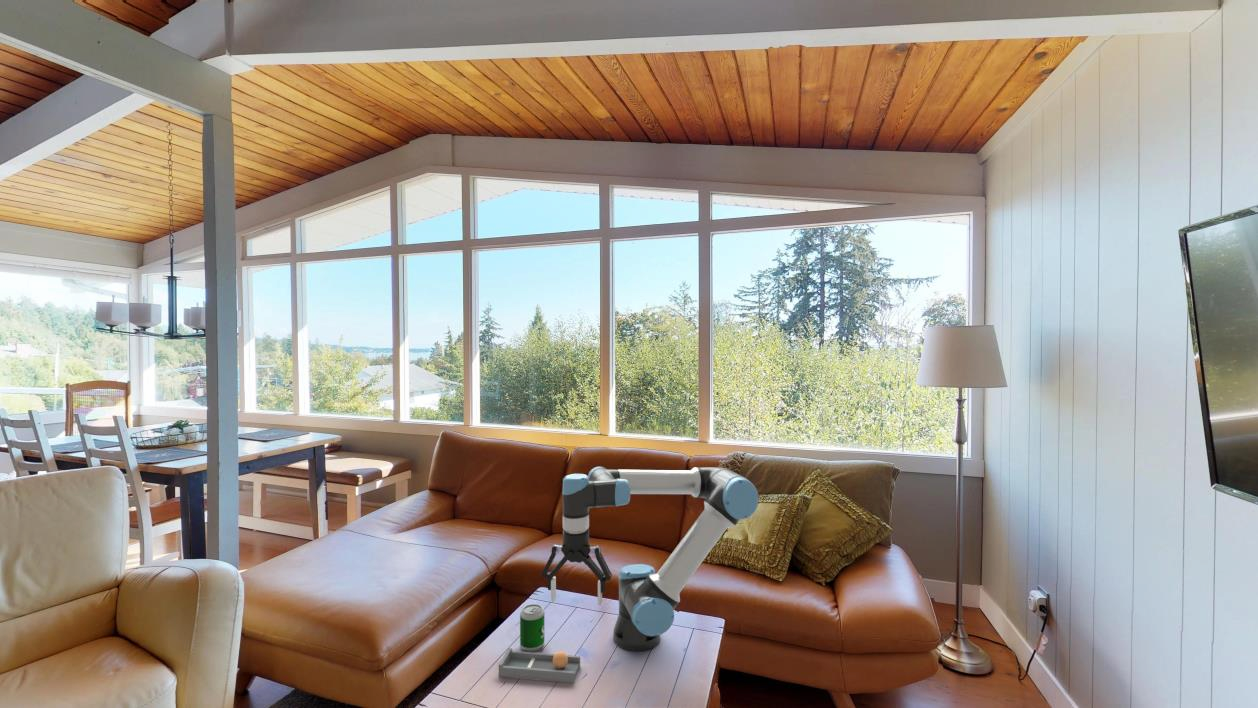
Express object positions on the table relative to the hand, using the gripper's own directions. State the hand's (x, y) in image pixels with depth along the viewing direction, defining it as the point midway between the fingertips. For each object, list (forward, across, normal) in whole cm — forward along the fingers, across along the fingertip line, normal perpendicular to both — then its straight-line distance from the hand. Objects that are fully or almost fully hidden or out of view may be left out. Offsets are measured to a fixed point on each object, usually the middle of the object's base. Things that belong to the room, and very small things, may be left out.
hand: (576, 602), depth 156 cm
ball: (+17, +5, +1) cm, 18 cm away
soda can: (+21, +17, -11) cm, 29 cm away
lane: (+21, +11, 0) cm, 23 cm away
